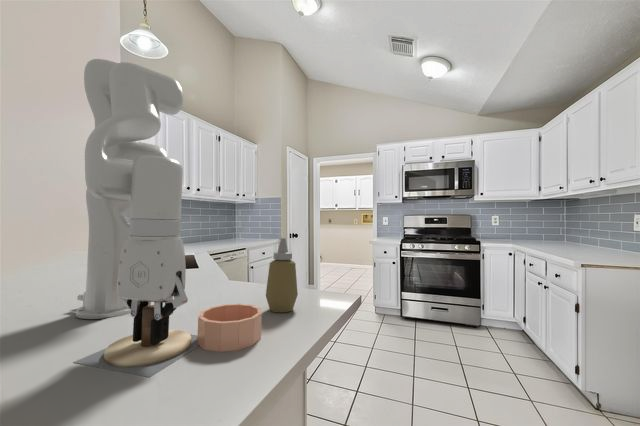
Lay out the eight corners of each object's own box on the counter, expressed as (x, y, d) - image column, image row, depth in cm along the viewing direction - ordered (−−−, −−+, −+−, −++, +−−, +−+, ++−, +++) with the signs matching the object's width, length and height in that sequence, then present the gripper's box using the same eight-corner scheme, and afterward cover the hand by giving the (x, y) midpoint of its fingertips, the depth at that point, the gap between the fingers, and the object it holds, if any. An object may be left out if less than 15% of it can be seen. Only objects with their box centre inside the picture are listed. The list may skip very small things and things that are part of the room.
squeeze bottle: (292, 316, 66) (293, 239, 67) (259, 313, 68) (262, 238, 69) (301, 306, 74) (302, 238, 75) (272, 304, 76) (274, 237, 76)
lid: (83, 360, 43) (85, 314, 43) (150, 330, 55) (152, 295, 55) (149, 372, 39) (152, 323, 40) (206, 338, 51) (207, 300, 52)
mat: (73, 364, 42) (73, 362, 42) (151, 331, 55) (151, 328, 55) (149, 379, 38) (149, 376, 38) (212, 339, 52) (212, 337, 52)
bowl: (184, 348, 48) (185, 318, 48) (221, 326, 59) (222, 302, 59) (241, 357, 45) (242, 325, 46) (270, 332, 56) (270, 306, 56)
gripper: (96, 229, 46) (90, 343, 45) (179, 232, 42) (174, 357, 41) (136, 228, 53) (132, 326, 53) (211, 231, 49) (207, 337, 49)
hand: (150, 339), depth 47 cm, fingers closed on lid, 2 cm apart
